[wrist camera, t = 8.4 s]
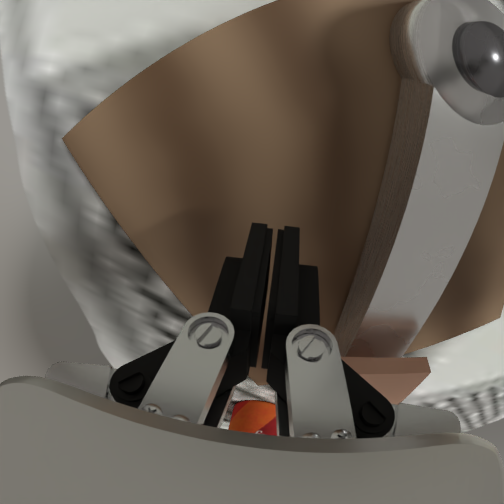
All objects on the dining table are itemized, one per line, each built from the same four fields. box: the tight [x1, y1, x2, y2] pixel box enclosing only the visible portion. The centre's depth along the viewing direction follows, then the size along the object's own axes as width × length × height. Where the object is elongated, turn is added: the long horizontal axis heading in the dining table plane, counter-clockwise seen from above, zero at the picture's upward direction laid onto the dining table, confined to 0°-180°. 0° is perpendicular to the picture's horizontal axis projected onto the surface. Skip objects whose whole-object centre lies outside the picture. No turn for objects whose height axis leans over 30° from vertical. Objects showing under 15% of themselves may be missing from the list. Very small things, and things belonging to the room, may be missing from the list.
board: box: [62, 0, 504, 386], centre depth 15 cm, size 22×24×1 cm
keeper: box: [341, 357, 431, 405], centre depth 18 cm, size 10×6×6 cm, turn 176°
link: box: [333, 0, 504, 358], centre depth 11 cm, size 20×5×4 cm, turn 178°
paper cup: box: [228, 400, 277, 436], centre depth 25 cm, size 8×8×14 cm
